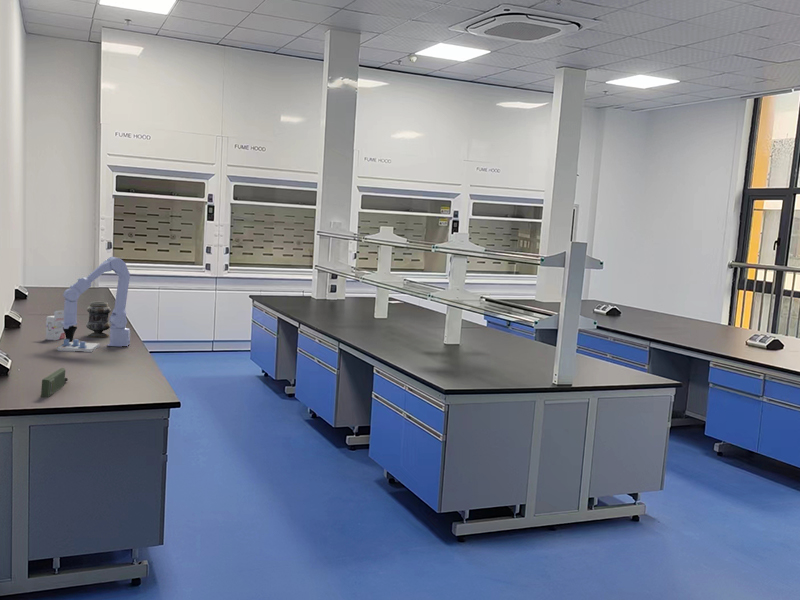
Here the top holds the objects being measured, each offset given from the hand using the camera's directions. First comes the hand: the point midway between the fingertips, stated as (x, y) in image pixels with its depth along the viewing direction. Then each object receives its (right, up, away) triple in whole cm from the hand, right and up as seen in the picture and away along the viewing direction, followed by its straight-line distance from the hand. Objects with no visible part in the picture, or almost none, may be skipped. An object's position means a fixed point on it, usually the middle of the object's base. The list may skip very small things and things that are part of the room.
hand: (69, 341), depth 350 cm
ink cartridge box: (-15, 0, +18) cm, 23 cm away
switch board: (+6, -3, -3) cm, 7 cm away
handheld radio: (+33, -13, -83) cm, 90 cm away
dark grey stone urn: (-1, +1, +36) cm, 36 cm away
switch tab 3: (+10, -2, -8) cm, 13 cm away
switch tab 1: (+1, -1, -5) cm, 5 cm away
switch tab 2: (+5, -2, -4) cm, 7 cm away
